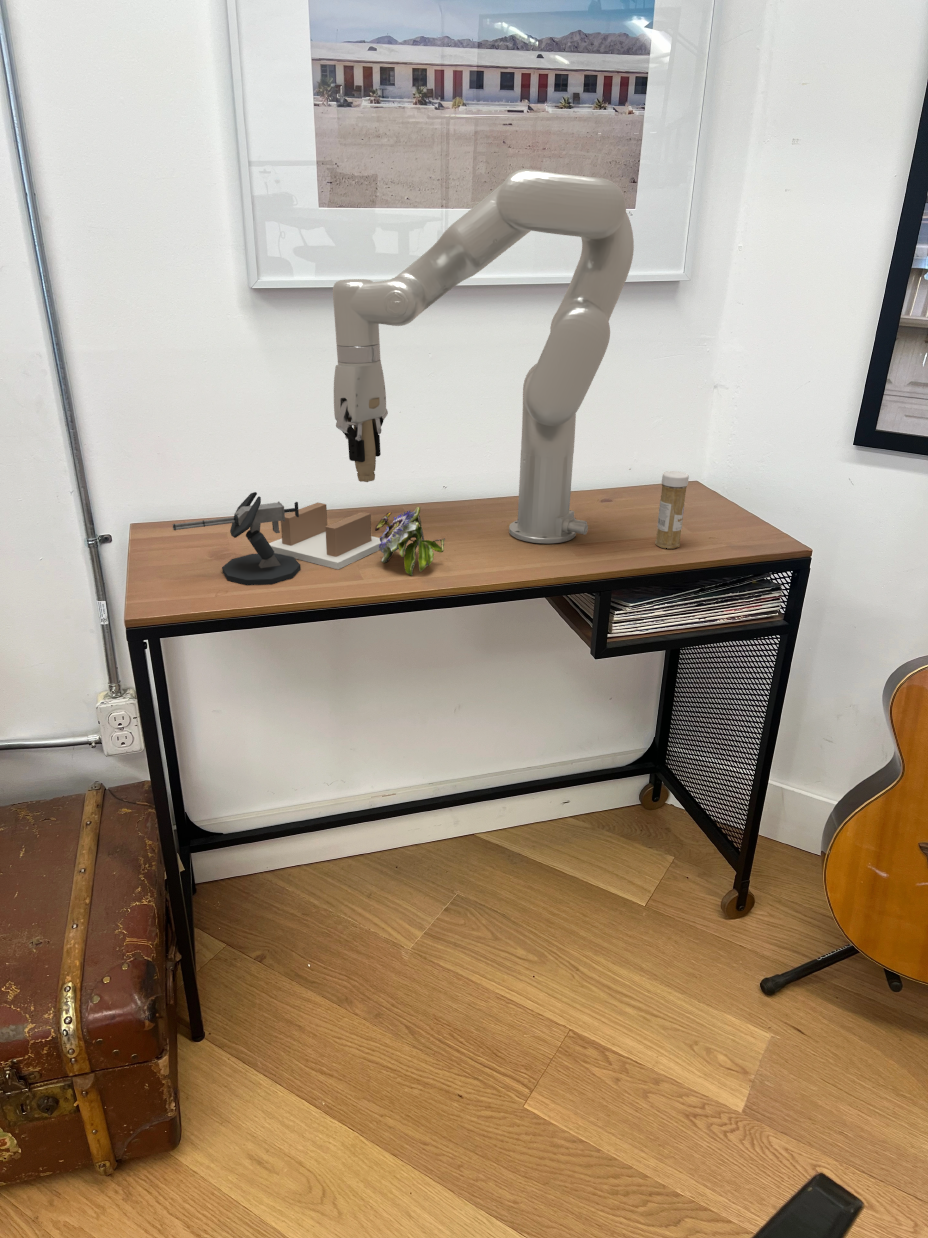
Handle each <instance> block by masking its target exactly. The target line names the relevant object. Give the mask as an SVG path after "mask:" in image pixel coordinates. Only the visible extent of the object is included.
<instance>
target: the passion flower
mask: <svg viewBox="0 0 928 1238" xmlns="http://www.w3.org/2000/svg"><path fill="white" fill-rule="evenodd" d="M420 513H421V506H417V507H416V508H415V509H414V510H413V511H411V509H410V510H407V511H406V512H405V511H404V512H403V513H400V515H399V514H398V515H397V516H396V517H395V516H394V517H393V521H392V522H391V523H389V519H390V516H391V515H392V511H389V512H387V513H386V514H384V516H383V517H381V518H380V521H379V522H378V523H377V524H376V526H375V528H374V531H379V530H380V528H383V527H384V526H386V528H385V531H384V532H383V533H382V536H380V537H379V538H380V541H381V544H380V545H379V548H380V550H379V551H380V553H382V554H383V557H382V559H381V560H380V562H381V563H382V564H386V563H388V562H389V561H390V559H391V558H392V557H393V554H394V553H395V552H397V551H398V550H399V555H400V557H402V558H403V562H404V563H403V564H404V566H403V567H404V572H405V574H407V575H409V576H410V577H412V576H413V571H414V568H415V564H416V556H417V555H416V553H417V551H416V550H417V548H418V557H417V562H418V570H419V572H420V573H421V572H422V571H423V570H425V569H426V567H429V566H431V564H432V563H433V561H434V557H435V556H434V555H435V554H434V552H433V550H434V551H435V552H438V553H440V554H441V553H444V551H445V540H446V538H439V539H434V540H432V539H431V540H430V539H425V535H424V530H423V527H422V526H423V525H422V520H421V515H420ZM414 538H415V539H414ZM413 539H414V540H413ZM409 541H411V542H410V543H408V542H409ZM439 541H440V545H439V544H438V543H437V542H439ZM407 544H408V545H407Z"/></svg>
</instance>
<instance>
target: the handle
mask: <svg viewBox="0 0 928 1238" xmlns="http://www.w3.org/2000/svg"><path fill="white" fill-rule="evenodd" d="M379 405H380V400H379V398H376V399H372V400H369V408H372V409H375V408H376V407H378V406H379ZM352 427H353V429H354V430H355V428H356V426H355V425H352ZM361 440H364V450H365V461H364V462H356V461H354V465H355V470H356V472H357V473H356V474H357V480H358V481H359V482H363V483H369V482H374V481H375V480H376V479H375V478H376V473H375V471H376V464H377V460H376V458H377V456H376V453H375V452H376V450H375V441H374V433H373V423H372V420H369V421H366V422H362V436H361Z"/></svg>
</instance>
